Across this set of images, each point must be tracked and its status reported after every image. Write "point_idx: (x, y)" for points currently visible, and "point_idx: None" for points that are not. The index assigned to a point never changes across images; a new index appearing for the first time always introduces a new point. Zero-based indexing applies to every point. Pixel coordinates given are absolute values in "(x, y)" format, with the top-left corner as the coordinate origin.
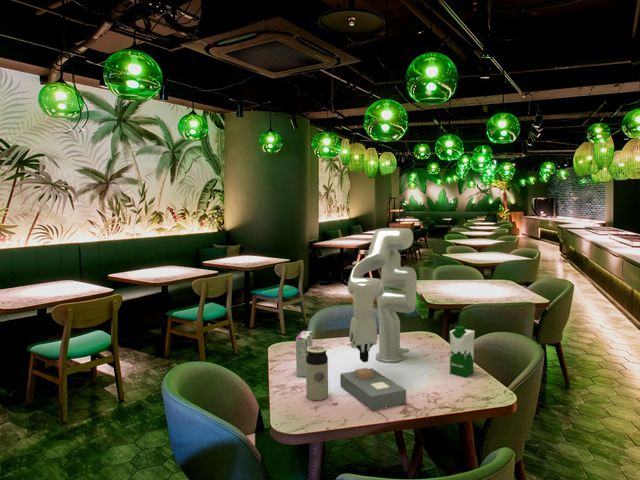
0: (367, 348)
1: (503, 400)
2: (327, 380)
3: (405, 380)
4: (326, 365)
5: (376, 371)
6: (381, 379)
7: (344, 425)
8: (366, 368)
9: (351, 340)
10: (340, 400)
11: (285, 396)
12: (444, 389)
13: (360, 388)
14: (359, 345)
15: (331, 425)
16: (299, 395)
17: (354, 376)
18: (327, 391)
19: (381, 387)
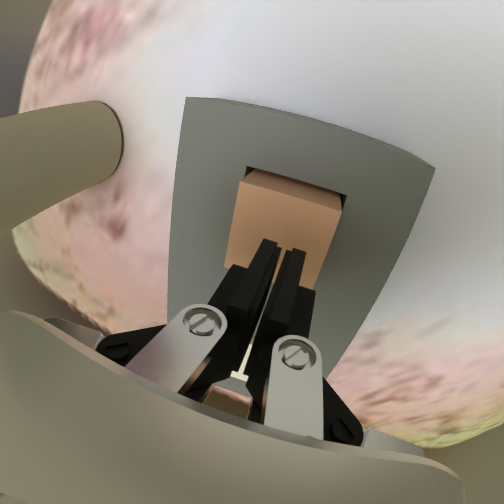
0: (250, 417)
1: (450, 441)
2: (64, 194)
3: (495, 269)
4: (2, 233)
5: (409, 230)
6: (320, 322)
7: (103, 322)
8: (330, 224)
9: (5, 321)
10: (140, 221)
11: (37, 93)
12: (468, 379)
13: (167, 313)
14: (161, 374)
15: (82, 302)
16: (60, 103)
17: (230, 191)
18: (97, 180)
19: (232, 372)
